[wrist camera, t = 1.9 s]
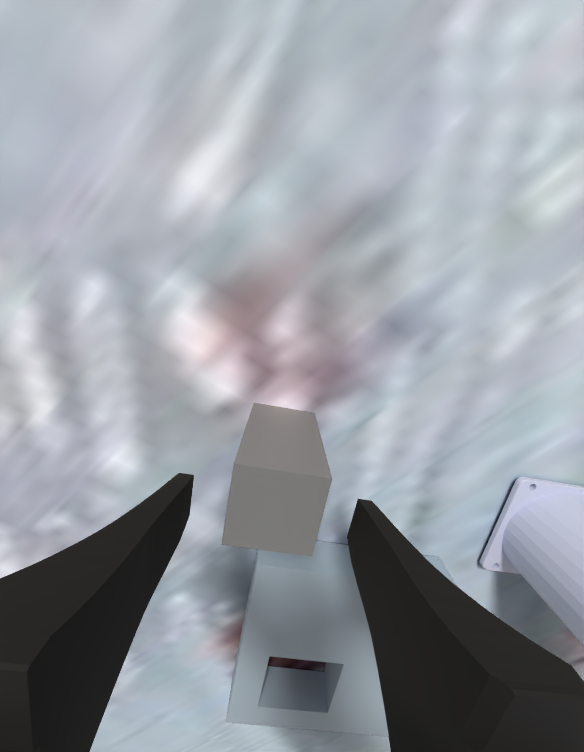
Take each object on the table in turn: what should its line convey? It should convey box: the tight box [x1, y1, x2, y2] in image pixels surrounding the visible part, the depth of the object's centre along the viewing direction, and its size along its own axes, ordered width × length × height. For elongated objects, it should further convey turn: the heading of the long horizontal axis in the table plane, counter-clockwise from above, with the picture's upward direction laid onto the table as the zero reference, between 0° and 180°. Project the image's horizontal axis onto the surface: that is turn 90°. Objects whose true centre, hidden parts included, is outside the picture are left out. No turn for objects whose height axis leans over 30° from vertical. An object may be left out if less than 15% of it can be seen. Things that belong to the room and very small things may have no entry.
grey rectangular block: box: [222, 403, 332, 557], centre depth 15 cm, size 4×4×7 cm
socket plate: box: [226, 541, 457, 737], centre depth 20 cm, size 14×16×4 cm
